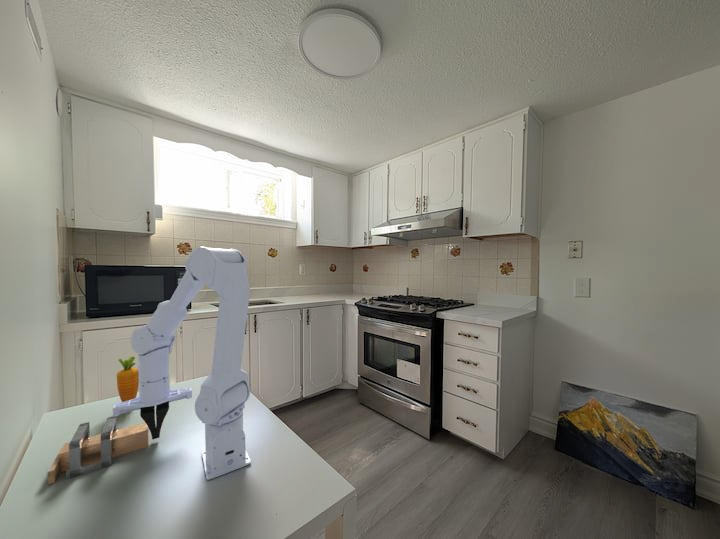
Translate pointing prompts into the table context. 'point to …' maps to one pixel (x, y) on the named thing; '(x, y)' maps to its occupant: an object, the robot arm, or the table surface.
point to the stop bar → (54, 470)
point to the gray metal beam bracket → (76, 449)
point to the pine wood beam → (121, 444)
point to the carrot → (128, 380)
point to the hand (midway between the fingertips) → (155, 436)
